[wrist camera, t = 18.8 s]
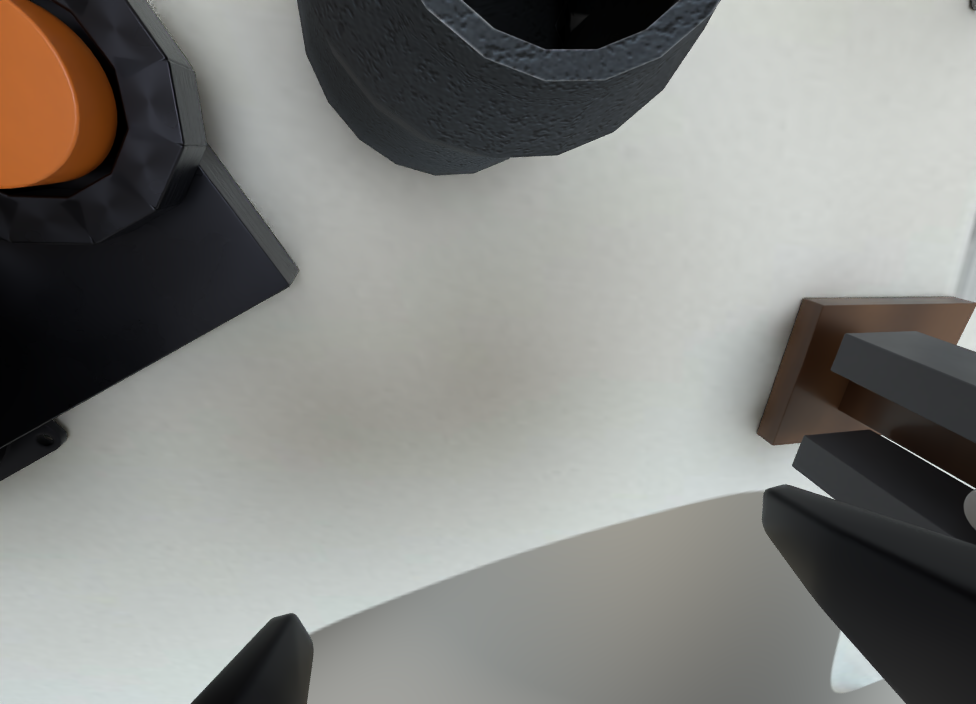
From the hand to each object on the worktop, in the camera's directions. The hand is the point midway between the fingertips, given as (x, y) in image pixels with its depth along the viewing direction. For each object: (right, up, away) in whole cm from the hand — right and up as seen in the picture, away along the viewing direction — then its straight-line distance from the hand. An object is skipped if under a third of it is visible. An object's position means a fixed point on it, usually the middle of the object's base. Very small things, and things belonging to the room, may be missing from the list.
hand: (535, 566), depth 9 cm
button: (-12, +10, +2) cm, 16 cm away
